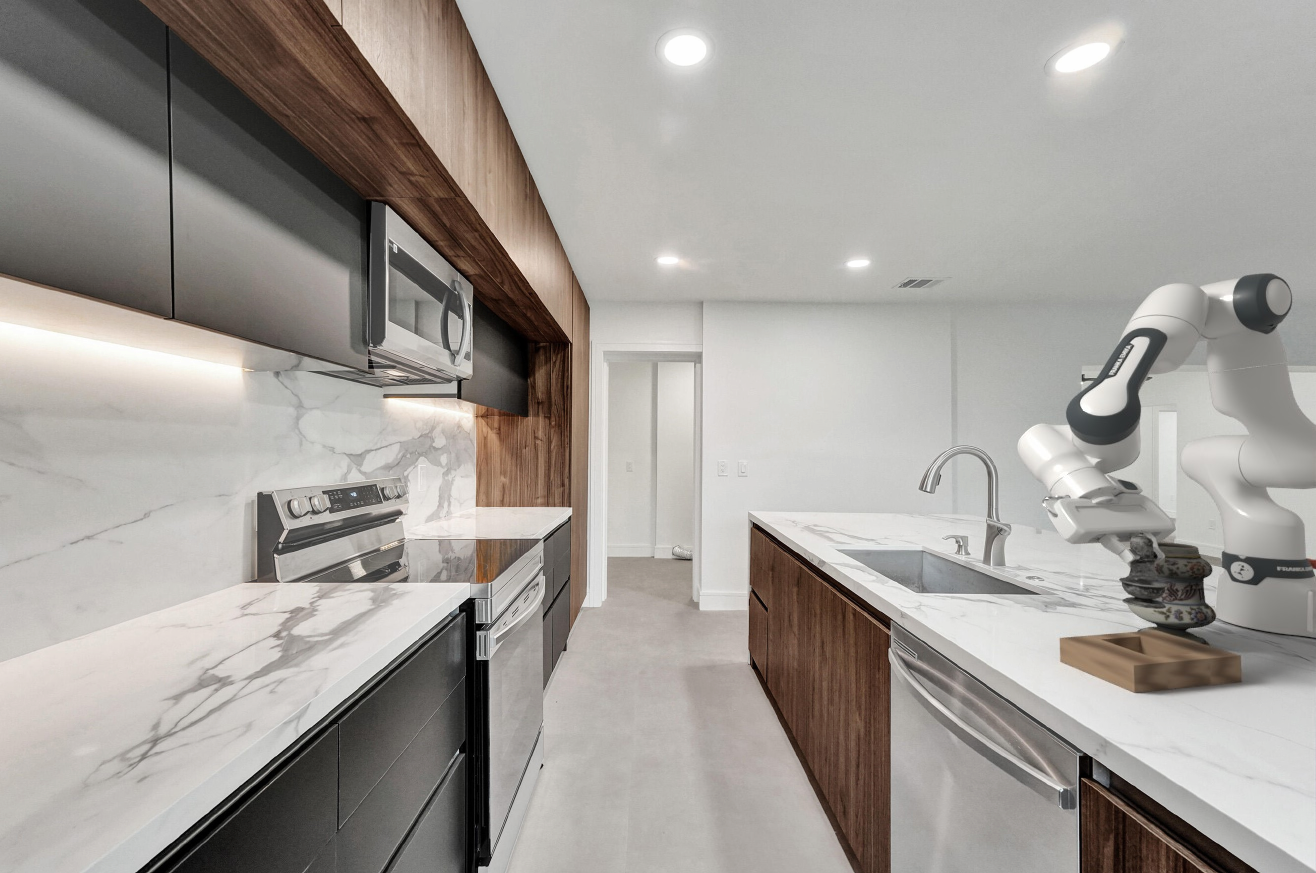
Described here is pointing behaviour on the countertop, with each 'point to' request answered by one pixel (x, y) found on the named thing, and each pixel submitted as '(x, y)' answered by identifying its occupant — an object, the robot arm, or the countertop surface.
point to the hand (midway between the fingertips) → (1146, 560)
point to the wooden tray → (1150, 660)
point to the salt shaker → (1143, 576)
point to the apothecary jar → (1180, 593)
